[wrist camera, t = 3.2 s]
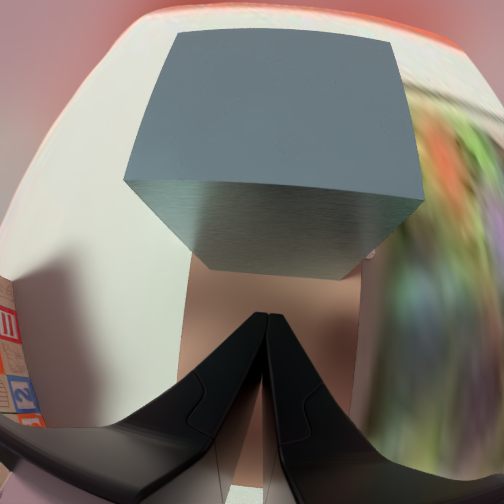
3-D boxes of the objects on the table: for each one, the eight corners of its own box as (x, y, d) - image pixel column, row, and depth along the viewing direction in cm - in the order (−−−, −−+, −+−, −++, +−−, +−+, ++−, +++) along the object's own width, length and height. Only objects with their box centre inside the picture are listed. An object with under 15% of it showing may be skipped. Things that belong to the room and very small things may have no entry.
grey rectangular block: (339, 280, 14) (424, 200, 5) (210, 269, 15) (123, 179, 6) (341, 182, 15) (390, 42, 7) (223, 174, 16) (178, 32, 7)
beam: (328, 455, 16) (344, 490, 11) (188, 440, 17) (161, 470, 12) (344, 111, 22) (356, 65, 17) (232, 104, 23) (223, 57, 18)
